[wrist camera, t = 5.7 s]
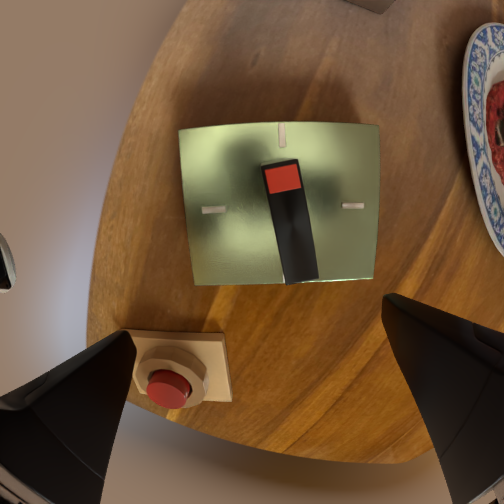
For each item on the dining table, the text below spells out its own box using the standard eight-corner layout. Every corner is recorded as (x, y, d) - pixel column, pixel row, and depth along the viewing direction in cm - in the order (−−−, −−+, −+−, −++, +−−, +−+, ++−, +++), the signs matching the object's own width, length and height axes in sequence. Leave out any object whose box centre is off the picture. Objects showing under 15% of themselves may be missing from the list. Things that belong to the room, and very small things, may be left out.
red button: (157, 393, 23) (152, 406, 21) (147, 366, 21) (140, 380, 20) (193, 397, 22) (189, 410, 21) (185, 370, 21) (180, 384, 20)
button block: (143, 386, 26) (134, 405, 23) (121, 328, 23) (107, 346, 21) (232, 393, 26) (229, 415, 23) (224, 332, 23) (219, 355, 20)
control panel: (203, 268, 21) (193, 287, 18) (190, 132, 17) (176, 129, 15) (360, 262, 20) (374, 280, 17) (363, 128, 17) (380, 124, 14)
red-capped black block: (306, 247, 17) (320, 281, 12) (280, 252, 17) (286, 288, 12) (288, 157, 15) (298, 158, 11) (261, 163, 15) (259, 166, 11)
